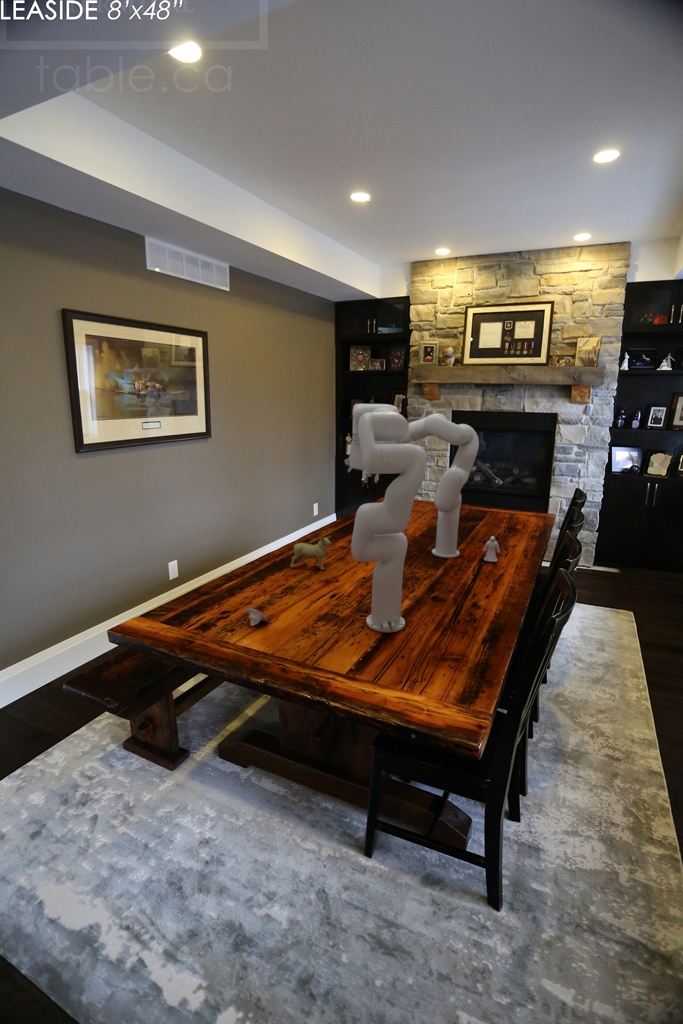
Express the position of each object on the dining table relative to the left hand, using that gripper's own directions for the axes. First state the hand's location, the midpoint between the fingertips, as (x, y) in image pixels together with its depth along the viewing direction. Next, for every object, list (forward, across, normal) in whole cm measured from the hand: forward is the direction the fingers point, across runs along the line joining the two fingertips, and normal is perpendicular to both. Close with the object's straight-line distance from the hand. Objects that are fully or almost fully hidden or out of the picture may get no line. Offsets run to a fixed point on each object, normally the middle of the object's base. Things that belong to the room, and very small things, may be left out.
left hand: (361, 484), depth 186 cm
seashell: (+40, -1, +49) cm, 63 cm away
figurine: (+40, -20, -65) cm, 78 cm away
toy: (+40, +25, +2) cm, 47 cm away
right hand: (+15, +36, -43) cm, 58 cm away
